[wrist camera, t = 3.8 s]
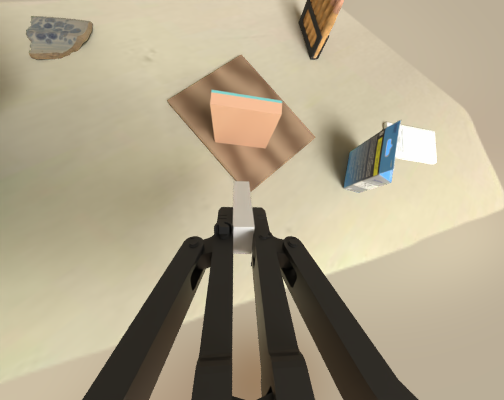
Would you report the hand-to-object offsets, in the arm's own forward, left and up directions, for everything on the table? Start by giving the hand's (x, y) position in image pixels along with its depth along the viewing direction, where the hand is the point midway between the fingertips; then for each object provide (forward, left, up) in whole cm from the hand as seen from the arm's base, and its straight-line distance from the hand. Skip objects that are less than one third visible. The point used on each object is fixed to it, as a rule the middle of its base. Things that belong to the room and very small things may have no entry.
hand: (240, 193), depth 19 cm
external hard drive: (+41, -14, -18) cm, 47 cm away
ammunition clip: (+40, +20, -17) cm, 48 cm away
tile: (+10, +10, -16) cm, 21 cm away
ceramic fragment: (-4, +47, -17) cm, 50 cm away
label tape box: (+25, -10, -17) cm, 32 cm away
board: (+14, +13, -17) cm, 25 cm away
